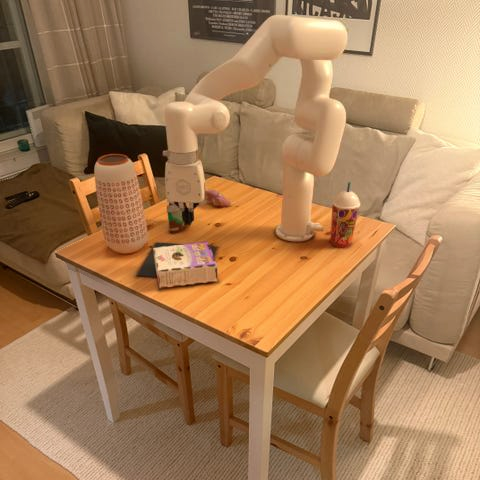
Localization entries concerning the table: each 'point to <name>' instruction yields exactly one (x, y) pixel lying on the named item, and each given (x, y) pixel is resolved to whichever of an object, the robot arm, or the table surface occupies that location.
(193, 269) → the candy box
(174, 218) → the food container
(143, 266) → the placemat
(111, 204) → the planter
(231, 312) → the table surface
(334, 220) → the smoothie
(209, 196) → the sweet potato
